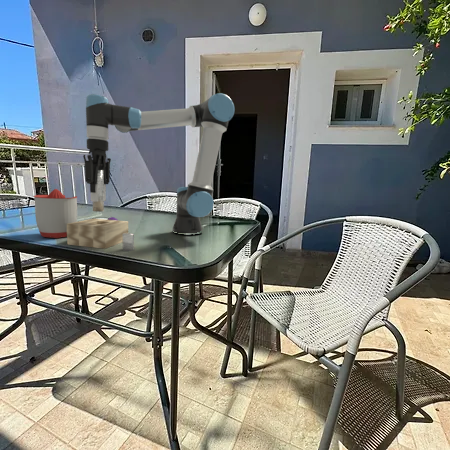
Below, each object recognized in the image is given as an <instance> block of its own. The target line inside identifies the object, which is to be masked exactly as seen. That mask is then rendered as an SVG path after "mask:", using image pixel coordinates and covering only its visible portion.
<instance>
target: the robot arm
mask: <svg viewBox="0 0 450 450" xmlns="http://www.w3.org/2000/svg"><path fill="white" fill-rule="evenodd" d="M85 99H86V102H85V116H86V117H85V118H86V120H85V121H86V137H87V139H86V148H87V149H88V153H87V154H83V156H82V157H83V160H84V175H85V177H84V178H85V182H86V184H88V185H89V192H90V201H91V202H93V201H98V184H96V183H97V175H98V170H104V202H106V201H107V199H106V195H107V193H106V191H107V185H109V183H110V175H111V173H110V171H111V167H110V166H111V161H112V160H111V158H110V157H109V158H108V157H107V151H109V141H108V140H109V125H110V126H114V128H115V129H116V130H117V131H118V132H119V133H123V134H125V133H126V134H127V133H129V132H135V131H143V130H156V129H164V128H165V129H167V128H177V127H187V126H191V127H192V128H203V129H202V134H201V138H200V142H199V143H200V145H199V149H198V153H197V158H196V163H195V167H194V172H193V176H192V180H191V182H189V183H188V185H187V186H180V187H178V188H177V190H176V192H177V193H176V216H175V217H176V218H175V221H174V223H173V226H172V232H173V231H174V232H177V233H197V232H200V231H202V232H203V227H202V226H203V225H202V221H201V219H200V218H204V217H206V216H208V215H209V214H210V213H211V212H212V211H213V209H214V205H215V204H214V203H215V202H214V198H213V195H214V194H213V193H214V189H213V187H212V183H213V178H214V173H215V168H216V164H217V160H218V155H219V149H220V146H221V141H222V136H223V133H225V132H227V129H228V126H229V122H230V121H231V120H232V119H233V117H234V115H235V104H234V102H233V100H232V99H231V98H230V96H228V95H227V94H225V93H215V94H213V95H211V96H210V97H209V98H208V99H206V100H204V102H201V103H198V104H195V105H189V107H188V108H174V109H161V110H148V111H147V110H146V111H141V110H140V109H139V108H135V107H130V106H123V105H117V104H112V103H110V102H109V99H108V98H107V97H106V96H103V95H99V94H89V95H87V96H86V98H85Z"/></svg>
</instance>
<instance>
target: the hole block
mask: <svg viewBox="0 0 450 450" xmlns="http://www.w3.org/2000/svg"><path fill="white" fill-rule="evenodd" d="M107 219H108V218H107ZM107 219H105V218H89V219H85V220H79V221H78V220H77V222H73V223H68V224H67V237H66V238H67V239H66V242H67V246H68V245H69V246H79V247H89V248H98V249H104V250H105V249H108V248H110V247H114V246H116V245H118V244H121V243H122V234H123V233H129V221H127V220H119V219H117V220H107Z"/></svg>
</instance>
